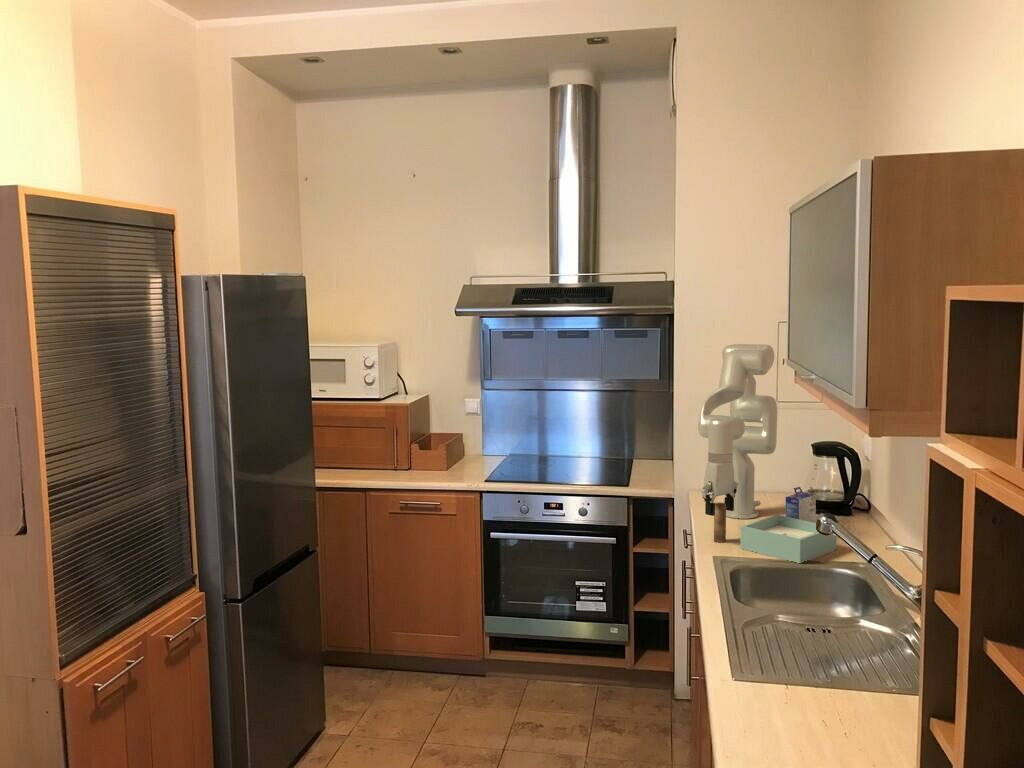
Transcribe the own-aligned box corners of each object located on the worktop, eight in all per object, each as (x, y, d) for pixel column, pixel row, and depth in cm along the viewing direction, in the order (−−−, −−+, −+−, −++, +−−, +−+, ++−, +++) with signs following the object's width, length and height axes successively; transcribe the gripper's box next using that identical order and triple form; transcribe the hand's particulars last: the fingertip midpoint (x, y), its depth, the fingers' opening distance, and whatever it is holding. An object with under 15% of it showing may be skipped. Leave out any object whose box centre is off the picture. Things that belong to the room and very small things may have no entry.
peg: (718, 539, 263) (718, 501, 261) (728, 541, 260) (728, 503, 259) (711, 541, 260) (711, 503, 259) (721, 543, 257) (721, 505, 256)
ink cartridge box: (801, 527, 275) (802, 484, 273) (816, 530, 270) (817, 487, 269) (784, 532, 268) (784, 489, 267) (799, 536, 264) (800, 491, 263)
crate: (777, 536, 264) (777, 514, 264) (836, 549, 249) (836, 527, 248) (740, 548, 252) (740, 526, 251) (799, 563, 236) (800, 540, 236)
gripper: (727, 454, 266) (726, 506, 267) (693, 459, 255) (692, 514, 256) (747, 456, 260) (746, 510, 261) (713, 462, 249) (712, 519, 250)
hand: (719, 512), depth 259 cm, fingers open, 9 cm apart
